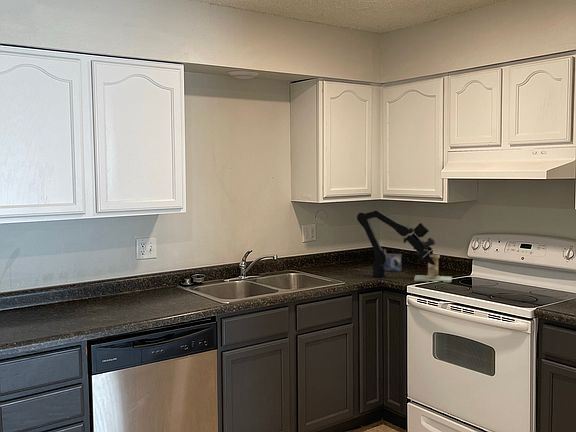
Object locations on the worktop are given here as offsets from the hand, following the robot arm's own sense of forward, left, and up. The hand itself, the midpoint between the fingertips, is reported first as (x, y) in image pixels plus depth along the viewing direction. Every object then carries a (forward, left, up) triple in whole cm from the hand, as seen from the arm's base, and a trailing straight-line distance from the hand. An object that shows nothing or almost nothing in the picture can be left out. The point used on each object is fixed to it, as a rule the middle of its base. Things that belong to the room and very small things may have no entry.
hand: (435, 263), depth 336 cm
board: (-1, 0, -9) cm, 9 cm away
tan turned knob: (-2, 0, -8) cm, 8 cm away
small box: (-26, +25, -10) cm, 38 cm away
